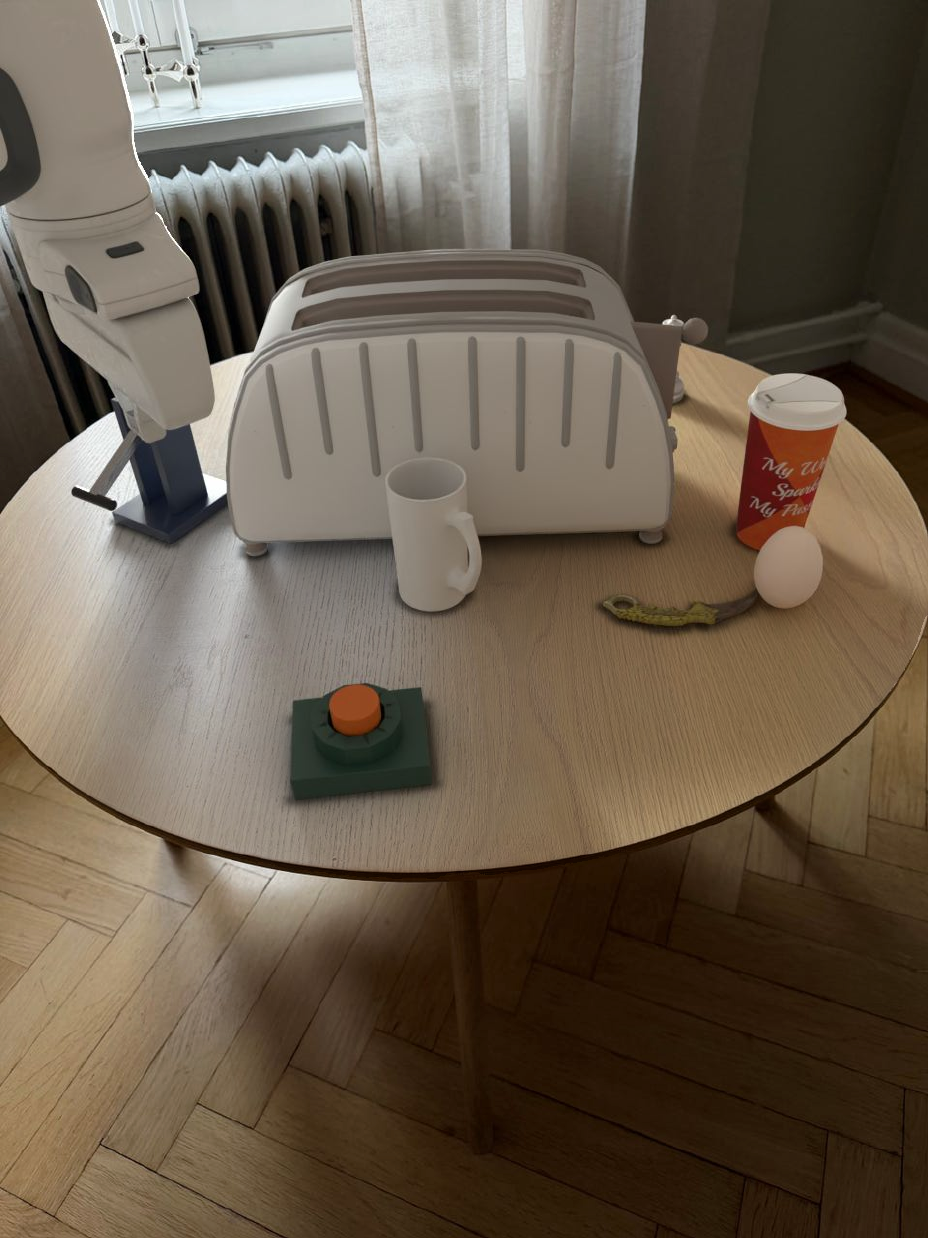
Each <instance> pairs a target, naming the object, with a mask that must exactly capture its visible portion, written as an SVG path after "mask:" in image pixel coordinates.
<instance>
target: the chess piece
mask: <svg viewBox="0 0 928 1238" xmlns="http://www.w3.org/2000/svg"><path fill="white" fill-rule="evenodd" d="M662 324H663V325H674V326H681V327H682V328H683V327H684V324H685V323H684V321H682V320H681V319H678V316H677V315H675V314H673V315H671V317H670V318H668V319H665V320H663V321H662ZM681 346H682V340H681V341H680V347H681ZM684 389H685V384H684V381H683V380H682V379H681V378H680V372H679V371H678V370H677V373H676V381H675V389H674V396H673V404H676V403H678V402H680V401H682V399H683V398H684V395H685V394H684V393H685V391H684Z"/></svg>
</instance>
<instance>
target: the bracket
mask: <svg viewBox="0 0 928 1238" xmlns="http://www.w3.org/2000/svg"><path fill="white" fill-rule="evenodd" d="M110 402H111V406H112V408H113V412H114V415H115V418H116V421H117V424H118V427H119V431H120V434H121V437H122V441H123V440H124V439H125V437H126V436H127V434H128V433H129V431H130V430H131V429H130V428H129V427H128V425H127V422H126V418H125V415H124V412H123V409H122V408H121V406H120V404H119V402H118V400H117V399H116V397H115V396H114V397H113V398H111V399H110ZM129 463H130V465H131V470H132V473H133V475H134V479H135V482H136V485H137V488H138V492H139V494H137V495H136V496H134V497H133V498H131V499H129V500H128V501H127V502H125V503H123V504H122V505H120V506H119V507H117V508H116V509H115V510H114V511H111V513H112V516H113V520H114V522H115V523H117V524H119V525H123V526H125V527H128V528H130V529H133V530H135V531H138V532H140V533H143V534H145V535H147V536H149V537H153V538H155V539H158V540H160V541H163V542H166V543H168V544H171V545H172V544H174V543H175V542H176V541H177V540H179V539H180V538H182V537H183V536H185V535H187V533H188V532H190V531H192V530H193V529H194V528H196V527H197V526H198V525H200V524H201V523H203V522H204V521H205V520H207V519H208V518H210V517H211V516H212V515H214V514H215V513H217V512H218V511H219V510H221V509H222V508H224V507H225V506H226V505H228V500H227V487H226V480H223V479H219V478H217V477H214V476H211V475H208V474H205V473H203V469H202V466H201V461H200V458H199V454H198V450H197V445H196V442H195V438H194V433H193V431H192V427H191V424H188V425H185V426H183V427H180V428H177V429H173V430H166V436H165V437H164V438H163V439H161V440H158V441H155V442H152V443H146V442H145V441H144V440H142V442H141V443H140V445H139V446H138V448H137V449H136V451H135V452H134V454H133V455H132V457H131V458H130V460H129Z"/></svg>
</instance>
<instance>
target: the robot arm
mask: <svg viewBox="0 0 928 1238" xmlns="http://www.w3.org/2000/svg"><path fill="white" fill-rule="evenodd" d="M154 199H155V198H154V194H153V190H152V186H151V183H150V181H149V178H148V175H147V174H146V172H145V170H144V168H143V166H142V165H141V162H140V161H139V158H138V154H137V152H136V147H135V142H134V113H133V109H132V103H131V100H130V96H129V92H128V89H127V84H126V81H125V77H124V74H123V69H122V65H121V63H120V58H119V55H118V52H117V49H116V45H115V42H114V38H113V36H112V33H111V29H110V27H109V23H108V21H107V18H106V15H105V12H104V10H103V6H102V5H101V2H100V0H0V208H1V207H3V206H4V208H5V211H6V214H7V217H8V219H9V220H8V221H9V222H10V225H11V228H12V231H13V234H14V237H15V240H16V243H17V246H18V249H19V252H20V255H21V257H22V260H23V264H24V266H25V269H26V272H27V275H28V278H29V281H30V283H31V285H32V286H33V287H34V288H35V289H36V290H39V291H40V292H42V294H43V295H42V296H43V298H44V302H45V305H46V309H47V312H48V315H49V318H50V322H51V324H52V327H53V329H54V331H55V333H56V335H57V337H58V338H59V340H60V341H61V342H62V343H63V344H64V345H66V346H67V347H68V348H69V349H70V350H71V351H72V352H73V353H74V354H76V355H77V356H78V357H79V358H81V359H82V361H84V362H85V363H87V365H89V366H90V367H92V369H94V371H96V372H97V373H98V374H99V375H100V376H102V377H103V378H104V379H105V380H106V381H107V384H108V386H109V387H110V390H111V391H112V393H113V395H114V398H115V397H116V399H117V400H118V402H119V404H120V406H121V408H122V409H123V412H124V415H125V418H126V422H127V425H128V427H129V428H130V429H131V430H133V431H134V432H135V433H136V434H137V435H138V436H139V437H141V438H142V440H144V441H145V442H146V443H152V442H155V441H158V440H161V439H163V438H164V437H165V436H166V430H173V429H177V428H180V427H183V426H185V425H188V424H190V425H191V424H194V423H196V422H198V421H201V420H204V419H206V418H208V417H209V416H211V414H212V412H213V409H214V406H215V400H216V396H215V395H216V394H215V387H214V382H213V376H212V375H213V374H212V368H211V363H210V358H209V353H208V348H207V343H206V338H205V333H204V329H203V326H202V322H201V318H200V316H199V313H198V310H197V309H196V306H195V304H194V303H193V301H192V300H191V299H190V298H191V297H192V296H194V295H198V294H199V293H200V283H199V278H198V273H197V270H196V267H195V265H194V263H193V261H192V260H191V259H190V257H189V256H188V255H187V254H186V252H185V251H184V250H183V249H182V248H181V247H180V246H179V244H178V243H177V242H176V241H175V239H174V238H173V237H172V235H171V233H170V232H169V230H168V229H167V226H166V225H165V222H164V220H163V218H162V216H161V214H159V213H158V212H157V208H156V203H155V200H154ZM189 297H190V298H189Z"/></svg>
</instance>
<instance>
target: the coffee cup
mask: <svg viewBox="0 0 928 1238" xmlns="http://www.w3.org/2000/svg"><path fill="white" fill-rule="evenodd" d="M747 407H748V410H749V411H750V412H749V419H748V428H747V435H746V443H745V451H744V458H743V465H742V473H741V474H742V475H741V483H740V489H739V498H738V505H737V518H736V530H735V532H736V536H737V537H738V539H739V540H740V541H741V542H742V543H743V544H745V545H746V546H748V547H749V548H752V549H754V550H757V551H760V550H761V548H762V546H763V545H764V544H765V543H766V542H767V540H768V539H769V538H770V537H771V536H772V535H773V534H775V533H776V532H777V531H779V530H781V529H783V528H785V527H790V526H799V527H803V528H805V527H806V524H807V521H808V518H809V514H810V512H811V510H812V506H813V503H814V500H815V496H816V494H817V491H818V488H819V485H820V482H821V479H822V475H823V473H824V469H825V467H826V464H827V461H828V458H829V455H830V452H831V449H832V446H833V444H834V441H835V437H836V434H837V431H838V428H839V424H840V423H842V422H843V421H844V420H845V418H846V416H847V407H846V405H845V398H844V395H843V393H842V390H841V389H840V388H839V387H838V386H836V385H835V384H833V383H832V382H831V381H828V380H826V379H824V378H821V377H818V376H814V375H809V374H805V373H793V372H792V373H779V374H774V375H770V376H767V377H766V378H763V379H762V380H761V381H760V382H758V384H756V387H755V390H754V391H753V392H751V394H750V395H749V397H748V399H747Z"/></svg>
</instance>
